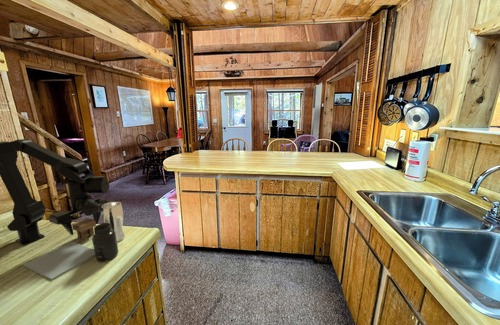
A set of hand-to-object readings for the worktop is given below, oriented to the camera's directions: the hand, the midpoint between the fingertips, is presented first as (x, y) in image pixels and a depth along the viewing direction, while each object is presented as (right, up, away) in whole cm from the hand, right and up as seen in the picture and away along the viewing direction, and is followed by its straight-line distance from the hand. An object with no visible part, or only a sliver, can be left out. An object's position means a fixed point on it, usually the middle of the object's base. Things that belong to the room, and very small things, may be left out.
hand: (84, 229), depth 85 cm
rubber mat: (+3, -6, -13) cm, 15 cm away
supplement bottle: (+17, -6, -11) cm, 21 cm away
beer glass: (+13, -4, -1) cm, 14 cm away
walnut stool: (0, -3, +1) cm, 3 cm away
